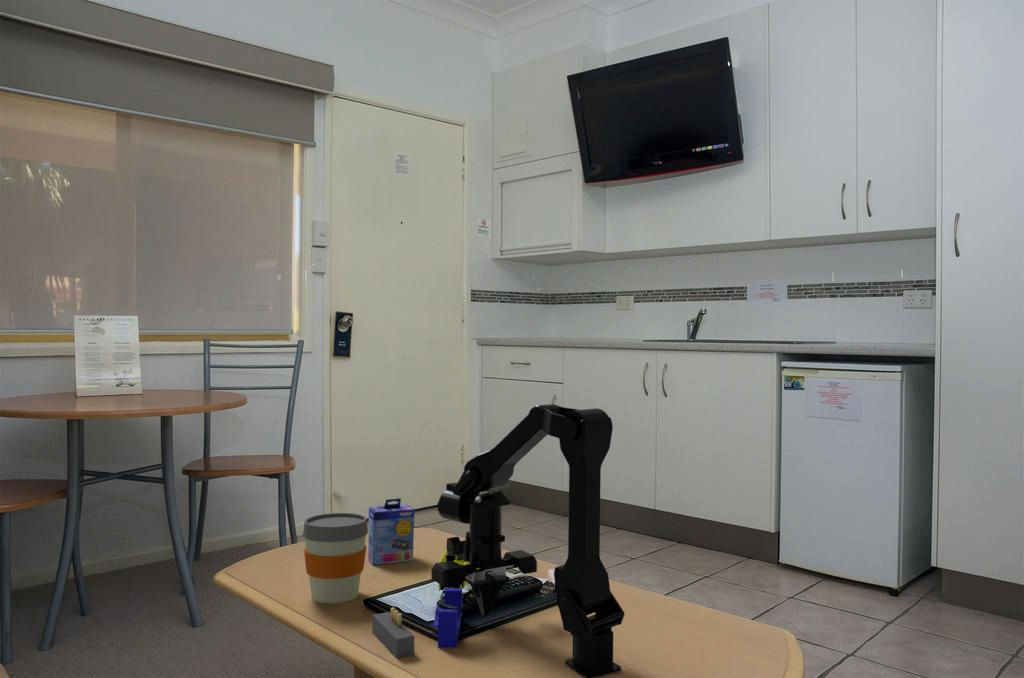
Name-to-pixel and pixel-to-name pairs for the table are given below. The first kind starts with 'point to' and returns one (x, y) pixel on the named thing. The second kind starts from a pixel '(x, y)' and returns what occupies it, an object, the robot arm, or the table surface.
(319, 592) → the reusable coffee cup
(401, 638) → the header strip
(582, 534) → the robot arm
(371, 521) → the ink cartridge box
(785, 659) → the table surface
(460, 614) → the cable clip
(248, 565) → the table surface
